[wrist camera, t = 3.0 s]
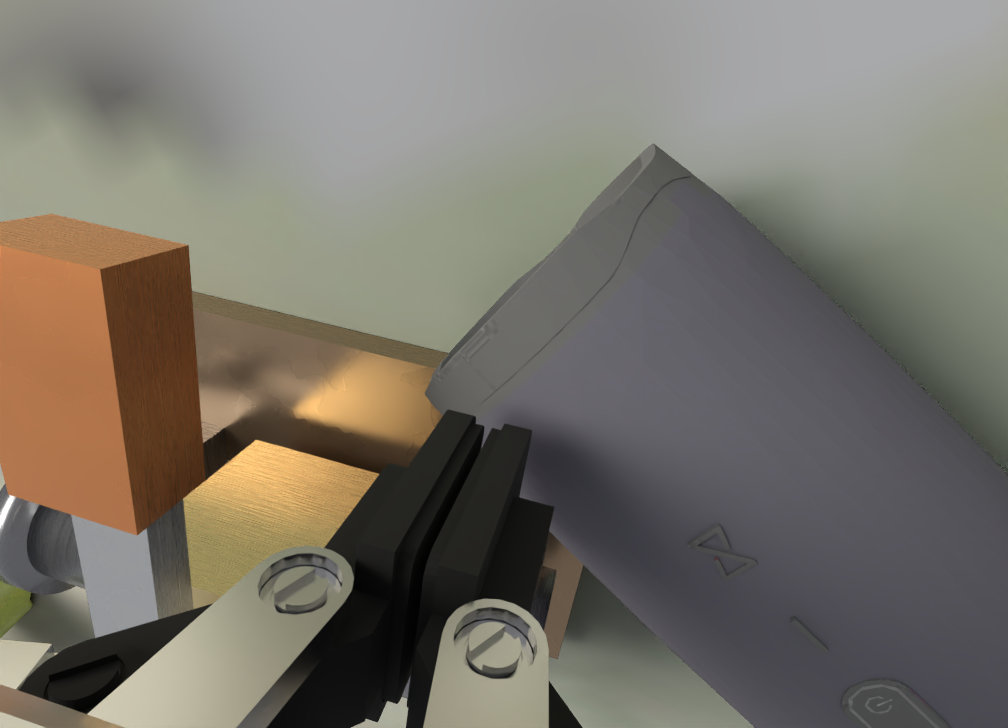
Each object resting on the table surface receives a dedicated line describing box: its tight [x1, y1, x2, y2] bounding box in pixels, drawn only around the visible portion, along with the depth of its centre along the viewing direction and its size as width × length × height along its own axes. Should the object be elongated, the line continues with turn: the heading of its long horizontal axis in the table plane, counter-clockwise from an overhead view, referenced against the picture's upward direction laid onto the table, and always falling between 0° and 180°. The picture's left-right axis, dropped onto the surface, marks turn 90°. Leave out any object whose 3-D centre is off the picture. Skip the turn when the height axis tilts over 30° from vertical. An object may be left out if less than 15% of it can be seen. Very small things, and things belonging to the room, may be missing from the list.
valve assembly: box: [0, 292, 583, 699], centre depth 20 cm, size 20×12×11 cm, turn 81°
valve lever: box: [0, 214, 206, 638], centre depth 13 cm, size 14×3×2 cm, turn 171°
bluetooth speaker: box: [424, 144, 1008, 728], centre depth 16 cm, size 23×9×10 cm, turn 48°
